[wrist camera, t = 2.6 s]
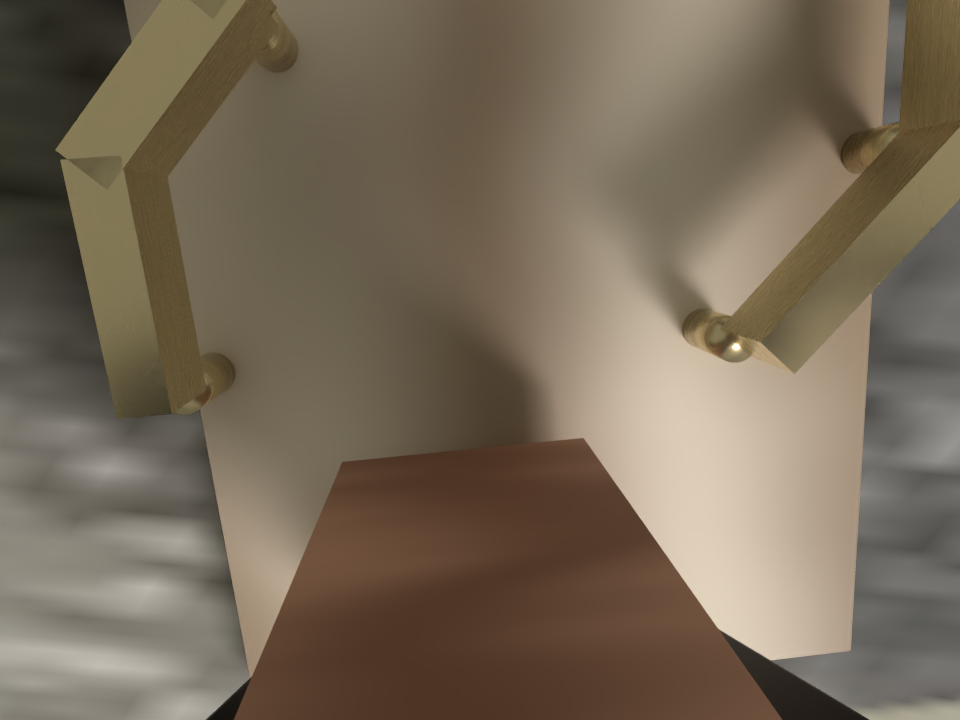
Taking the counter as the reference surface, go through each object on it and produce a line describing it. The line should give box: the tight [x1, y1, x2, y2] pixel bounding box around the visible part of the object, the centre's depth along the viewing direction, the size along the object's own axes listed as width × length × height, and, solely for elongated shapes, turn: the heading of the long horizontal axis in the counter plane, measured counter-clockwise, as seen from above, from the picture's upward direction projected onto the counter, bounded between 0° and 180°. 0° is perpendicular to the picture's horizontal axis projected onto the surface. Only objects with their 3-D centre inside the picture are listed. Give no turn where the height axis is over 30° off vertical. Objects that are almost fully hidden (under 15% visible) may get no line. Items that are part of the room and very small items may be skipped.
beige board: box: [124, 0, 889, 678], centre depth 10 cm, size 12×24×1 cm, turn 5°
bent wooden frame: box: [56, 0, 960, 419], centre depth 8 cm, size 12×11×2 cm
